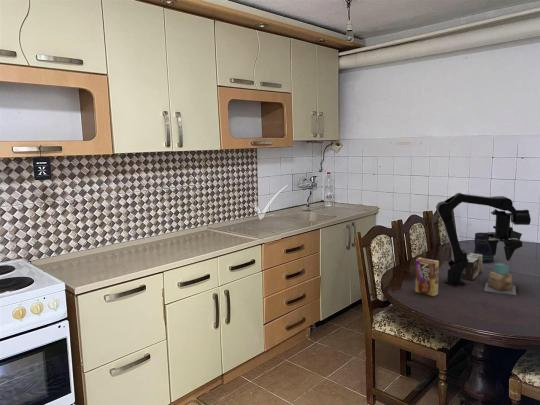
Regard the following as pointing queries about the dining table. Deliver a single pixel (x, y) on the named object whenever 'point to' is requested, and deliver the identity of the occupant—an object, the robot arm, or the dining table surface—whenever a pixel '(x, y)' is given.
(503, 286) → the walnut base block
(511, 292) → the grey square tile
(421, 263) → the candy box
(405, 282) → the dining table surface
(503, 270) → the teal block
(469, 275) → the coffee box
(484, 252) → the storage jar
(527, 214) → the robot arm
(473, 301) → the dining table surface
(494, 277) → the oak top block
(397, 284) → the dining table surface
